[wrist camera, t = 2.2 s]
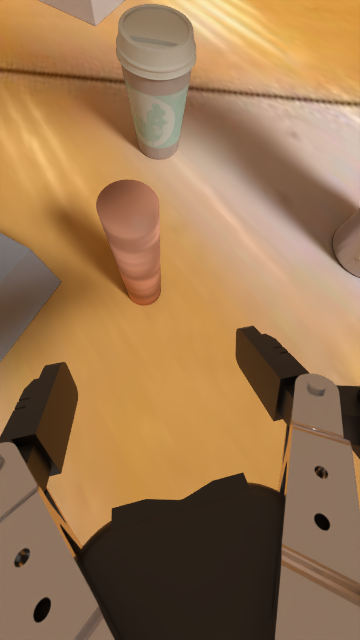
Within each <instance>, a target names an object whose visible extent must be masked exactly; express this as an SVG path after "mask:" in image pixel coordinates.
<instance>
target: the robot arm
mask: <svg viewBox="0 0 360 640" xmlns="http://www.w3.org/2000/svg"><path fill="white" fill-rule="evenodd" d="M333 249H334V252H335V255H336V257H337V259H338V261H339V262H340V263H341V264H342V266H343V267H344V268H345V269H347V270H348V271H349V272H350V273H352V274H354V275H355V276H357V277H360V209H359V210H358V211H357V212H355V213H354V214H353V215H352V216H351V217H350V218H349V219H348V220H347V221H345V222H344V223H343V224H342V225H341V226H340V227H339V228H338V229H337V230H336V232H335V234H334V237H333ZM236 360H237V363H238V365H239V367H240V369H241V370H242V372H243V374H244V375H245V377H246V378H247V380H248V381H249V383H250V385H251V386H252V388H253V389H254V391H255V393H256V394H257V396H258V397H259V399H260V400H261V402H262V404H263V405H264V407H265V408H266V410H267V412H268V413H269V415H270V416H271V418H272V419H273V421H277V420H281V419H283V420H284V421H285V423H286V424H287V425H286V431H285V439H284V448H283V456H282V465H281V473H280V479H279V485H278V491H277V490H274V489H272V488H270V487H267V486H264V485H261V484H256V483H247V481H246V478H245V476H244V473H240V474H236V475H232V476H229V477H225V478H222V479H218V480H214V481H212V482H210V483H209V484H207V485H205V486H204V487H202V488H201V489H199V490H197V491H196V492H194V493H193V494H191V495H189V496H188V497H186V498H184V499H182V500H157V499H145V500H141V501H137V502H134V503H130V504H127V505H123V506H119V507H116V508H112V521H110V522H109V523H107V524H106V525H104V526H103V527H102V528H101V529H99V530H98V531H97V532H96V533H95V534H94V535H93V536H92V537H91V538H90V539H89V540H88V541H87V542H86V544H85V545H84V546H82V545H81V543H80V541H79V540H78V538H77V537H76V535H75V534H74V532H73V531H72V529H71V528H70V526H69V524H68V522H67V521H66V519H65V517H64V515H63V514H62V512H61V510H60V509H59V507H58V505H57V503H56V502H55V500H54V498H53V496H52V495H51V493H50V491H49V489H48V488H47V483H48V479H49V476H53V475H57V474H61V472H62V467H63V463H64V458H65V454H66V450H67V445H68V441H69V436H70V432H71V428H72V423H73V419H74V414H75V410H76V406H77V401H78V391H77V387H76V385H75V382H74V380H73V378H72V375H71V373H70V371H69V369H68V366H67V364H66V363H65V362H61V363H56V364H51V365H46V366H45V367H44V368H43V370H42V373H41V375H40V377H39V379H34V380H33V381H32V382H31V383H30V384H29V385H28V386H27V387H26V388H25V389H24V391H23V393H22V395H21V397H20V399H19V402H18V403H17V405H16V407H15V411H13V413H12V415H11V417H10V419H9V421H8V423H7V425H6V427H5V429H4V431H3V432H2V434H1V436H0V640H360V509H359V501H358V493H357V485H356V478H355V470H354V462H353V454H352V450H353V451H354V452H355V454H356V455H357V456H358V457H359V459H360V386H337V385H335V384H334V383H333V382H332V381H331V380H329V379H327V378H325V377H323V376H321V375H317V374H310V373H309V372H308V371H307V370H306V369H305V368H304V367H303V366H302V365H301V364H300V363H299V362H298V361H297V360H296V359H295V358H294V357H293V356H292V355H291V354H290V353H288V351H287V350H286V349H285V348H284V347H282V345H281V344H280V343H279V342H278V341H277V340H276V339H275V338H273V337H271V336H269V335H267V334H261V333H260V332H259V331H258V330H257V329H256V328H255V327H254V326H249V327H244V328H239V329H237V331H236Z"/></svg>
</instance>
